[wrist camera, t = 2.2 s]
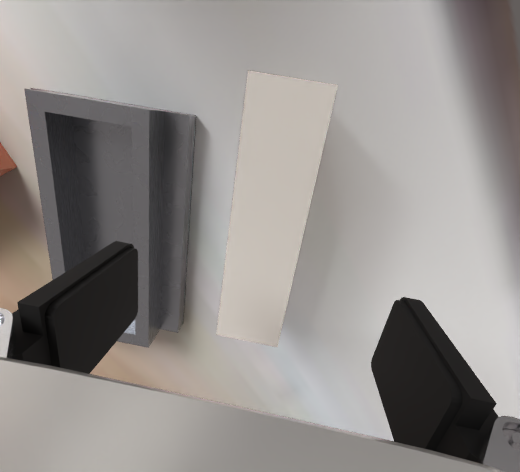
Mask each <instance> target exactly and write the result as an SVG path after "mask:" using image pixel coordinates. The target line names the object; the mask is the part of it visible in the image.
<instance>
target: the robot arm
mask: <svg viewBox="0 0 520 472" xmlns="http://www.w3.org/2000/svg"><path fill="white" fill-rule="evenodd" d="M17 303H18V308H19V309H18V310H17V311H15V312H14V313H11V312H9V311H8V310H6V309H2V308H0V472H520V419H517V418H514V417H509V416H502V417H498V415H497V414H496V413H495V411H494V410H493V408H494V407H495V405H496V402H495V401H494V400H493V398H492V397H491V396H490V394H489V393H488V391H487V390H486V389H485V387H484V386H483V385H482V383H481V382H480V380H479V379H478V378H477V376H476V375H475V374H474V372H473V371H472V369H471V368H470V367H469V365H468V364H467V363H466V361H465V360H464V358H463V357H462V356H461V354H460V353H459V352H458V350H457V349H456V347H455V346H454V345H453V343H452V342H451V341H450V339H449V338H448V336H447V335H446V334H445V332H444V331H443V330H442V328H441V327H440V325H439V324H438V323H437V321H436V320H435V319H434V317H433V316H432V314H431V313H430V312H429V310H428V309H427V308H426V306H425V305H424V303H423V302H422V301H420V300H416V299H410V298H405V297H403V298H401V299H400V301H399V300H396V301H395V302H394V304H393V307H392V309H391V312H390V314H389V317H388V319H387V322H386V324H385V327H384V330H383V332H382V335H381V337H380V340H379V342H378V345H377V347H376V350H375V352H374V355H373V358H372V362H371V368H372V372H373V375H374V378H375V381H376V384H377V388H378V391H379V394H380V397H381V400H382V403H383V407H384V410H385V413H386V416H387V419H388V423H389V426H390V429H391V432H392V435H393V438H394V442H393V441H389V440H385V439H381V438H377V437H372V436H368V435H363V434H359V433H355V432H350V431H346V430H341V429H337V428H333V427H328V426H324V425H320V424H315V423H311V422H306V421H302V420H298V419H293V418H289V417H284V416H280V415H275V414H271V413H266V412H262V411H257V410H253V409H248V408H244V407H239V406H235V405H230V404H226V403H221V402H217V401H212V400H208V399H203V398H199V397H194V396H190V395H185V394H181V393H176V392H171V391H167V390H162V389H157V388H153V387H148V386H144V385H139V384H134V383H130V382H125V381H120V380H116V379H111V378H106V377H102V376H97V375H92V374H89V373H90V372H91V371H92V370H93V369H94V368H95V366H96V365H97V364H98V363H99V362H100V360H101V359H102V358H103V357H104V356H105V354H106V353H107V352H108V351H109V350H110V348H111V347H112V346H113V345H114V344H115V342H116V341H117V340H118V339H119V338H120V336H121V335H122V334H123V333H124V332H125V330H126V329H127V328H128V327H129V326H130V325H131V323H132V322H133V321H134V320H135V318H136V316H137V313H138V251H137V249H135V248H134V246H133V245H132V244H129V243H124V242H119V241H115V242H113V243H111V244H110V245H108V246H106V247H105V248H103V249H102V250H100V251H98V252H97V253H95V254H94V255H92V256H90V257H89V258H87V259H86V260H84V261H83V262H81V263H79V264H78V265H76V266H75V267H73V268H71V269H70V270H68V271H67V272H65V273H63V274H62V275H60V276H59V277H57V278H56V279H54V280H52V281H51V282H49V283H48V284H46V285H44V286H43V287H41V288H40V289H38V290H36V291H35V292H33V293H32V294H30V295H29V296H27V297H25V298H24V299H22V300H21V301H19V302H17Z"/></svg>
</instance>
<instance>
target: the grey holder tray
mask: <svg viewBox="0 0 520 472" xmlns="http://www.w3.org/2000/svg"><path fill="white" fill-rule="evenodd" d="M25 96H26V103H27V109H28V116H29V123H30V130H31V136H32V143H33V150H34V156H35V163H36V170H37V177H38V183H39V190H40V197H41V204H42V210H43V217H44V224H45V231H46V237H47V244H48V251H49V258H50V264H51V271H52V278H53V280H54V279H56V278H57V277H59V276H60V275H62V274H63V273H65V272H67V271H68V270H70V269H71V268H73V267H75V266H76V265H78V264H79V263H81V262H83V261H84V260H86V259H87V258H89V257H90V256H92V255H94V254H95V253H97V252H98V251H100V250H102V249H103V248H105V247H106V246H108V245H110V244H111V243H113V242H115V241H119V242H124V243H129V244H132V245H133V246H134V248H135V249H137V251H138V313H137V316H136V318H135V320H134V321H133V322H132V323H131V325H130V326H129V327H128V328H127V329H126V330H125V332H124V333H123V334H122V335H121V336H120V338H119V339H118V340H117V341H119V342H124V343H129V344H133V345H138V346H143V347H148V348H149V346H150V344H151V343H152V341H153V340H154V338H155V336H156V335H157V333H158V332H159V330H160V329H162V330H167V331H172V332H177V333H178V331H179V330H180V328H181V326H182V324H183V319H184V303H185V287H186V270H187V254H188V238H189V222H190V206H191V190H192V174H193V158H194V142H195V126H196V115H190V114H184V113H178V112H172V111H166V110H161V109H155V108H149V107H143V106H137V105H131V104H125V103H119V102H113V101H107V100H102V99H96V98H90V97H84V96H78V95H72V94H66V93H60V92H54V91H48V90H41V89H33V88H31V89H25Z"/></svg>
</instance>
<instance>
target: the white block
mask: <svg viewBox="0 0 520 472" xmlns="http://www.w3.org/2000/svg"><path fill="white" fill-rule="evenodd" d="M337 88H338V85H336V84H330V83H323V82H317V81H311V80H305V79H299V78H292V77H286V76H280V75H274V74H268V73H262V72H255V71H249V70H248V74H247V82H246V90H245V98H244V107H243V115H242V123H241V132H240V140H239V148H238V157H237V165H236V173H235V182H234V190H233V198H232V207H231V215H230V223H229V231H228V240H227V248H226V256H225V265H224V273H223V281H222V290H221V298H220V306H219V315H218V323H217V331H216V335H219V336H224V337H229V338H234V339H239V340H244V341H249V342H254V343H259V344H264V345H269V346H274V347H278V342H279V338H280V334H281V329H282V325H283V321H284V316H285V312H286V308H287V304H288V299H289V295H290V291H291V286H292V282H293V278H294V273H295V269H296V265H297V260H298V256H299V252H300V247H301V243H302V239H303V234H304V230H305V226H306V221H307V217H308V213H309V209H310V204H311V200H312V196H313V191H314V187H315V183H316V178H317V174H318V170H319V165H320V161H321V157H322V152H323V148H324V144H325V139H326V135H327V131H328V126H329V122H330V118H331V113H332V109H333V105H334V101H335V96H336V92H337Z"/></svg>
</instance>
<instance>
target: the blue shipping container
mask: <svg viewBox="0 0 520 472" xmlns="http://www.w3.org/2000/svg"><path fill="white" fill-rule="evenodd" d="M16 167H17V166H16V164H15V163H14V161H13V160H12V159H11V157H10V156H9V154H8V153H7V151H6V150H5V149H4V147H3V146H2V144H1V143H0V176H2V175H3V174H5V173H7V172H9V171H11V170H12V169H14V168H16Z"/></svg>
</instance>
